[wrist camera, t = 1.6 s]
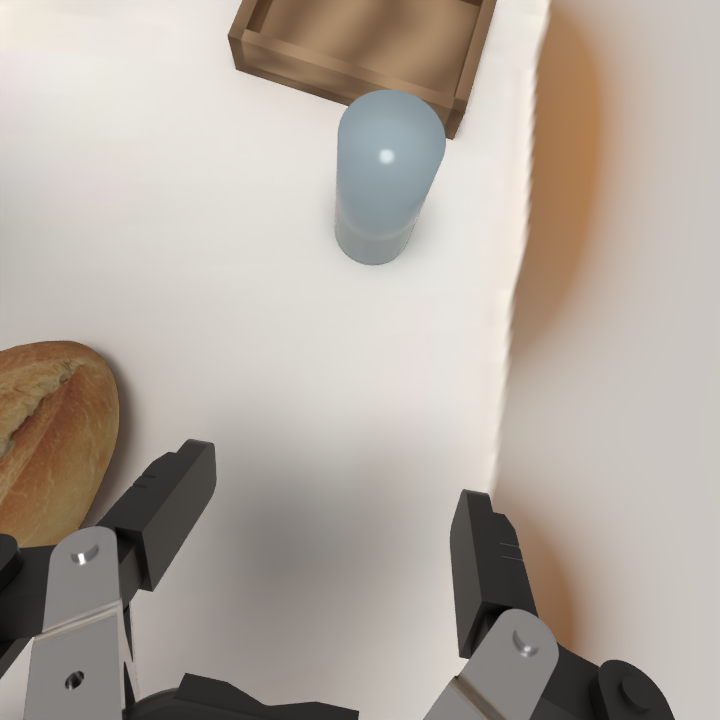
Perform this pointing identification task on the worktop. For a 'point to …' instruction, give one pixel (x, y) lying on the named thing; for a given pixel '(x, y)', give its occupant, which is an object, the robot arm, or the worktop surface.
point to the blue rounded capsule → (384, 172)
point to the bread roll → (53, 438)
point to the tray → (366, 48)
